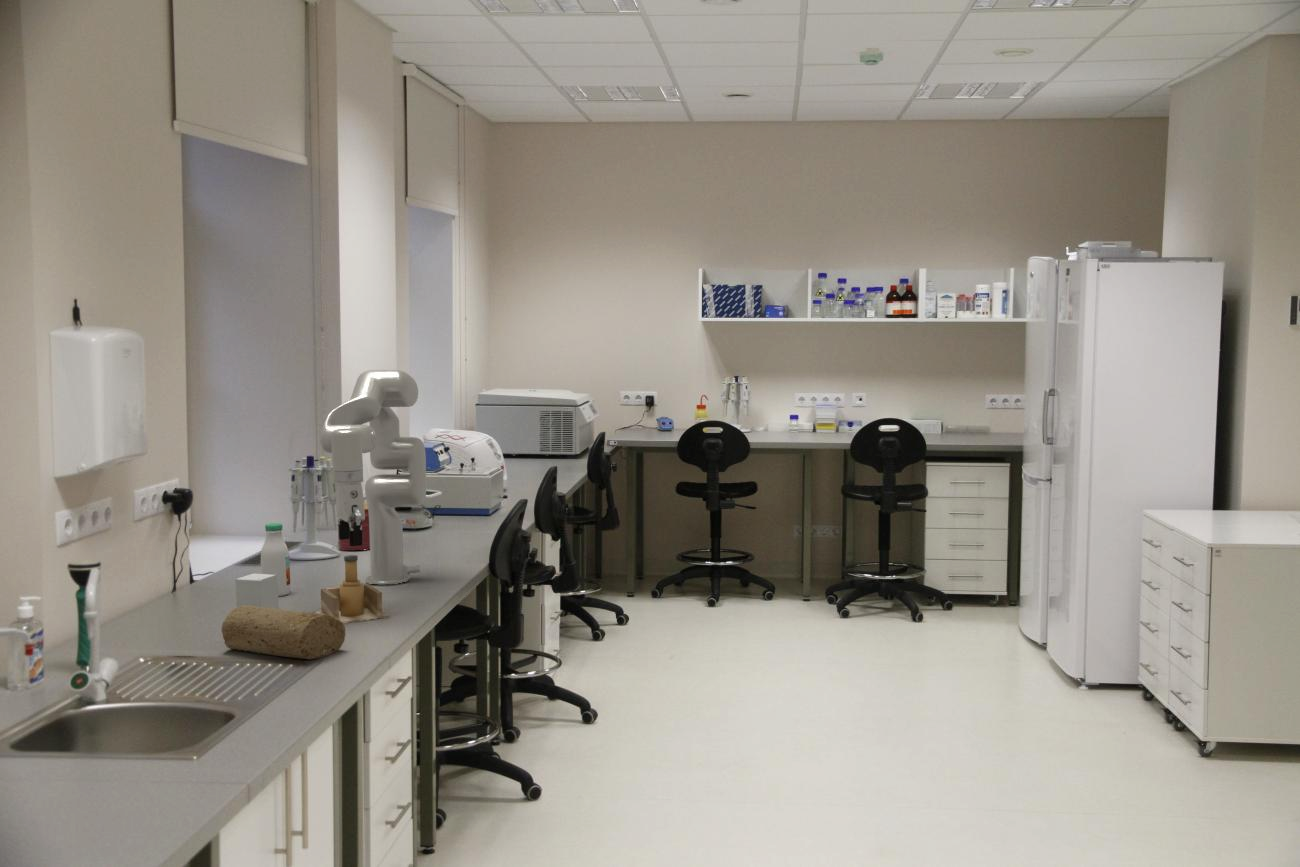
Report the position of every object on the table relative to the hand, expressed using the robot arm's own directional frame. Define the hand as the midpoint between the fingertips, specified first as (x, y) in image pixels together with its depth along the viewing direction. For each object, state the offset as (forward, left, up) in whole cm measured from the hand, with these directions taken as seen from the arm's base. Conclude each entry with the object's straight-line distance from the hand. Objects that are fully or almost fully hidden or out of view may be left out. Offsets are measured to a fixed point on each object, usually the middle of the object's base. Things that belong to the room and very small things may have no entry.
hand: (350, 542), depth 305 cm
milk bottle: (+11, -37, -19) cm, 43 cm away
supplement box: (+23, -2, -19) cm, 30 cm away
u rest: (0, 0, -19) cm, 19 cm away
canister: (-29, -96, -19) cm, 102 cm away
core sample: (+24, +25, -20) cm, 40 cm away
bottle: (0, 0, -19) cm, 19 cm away
